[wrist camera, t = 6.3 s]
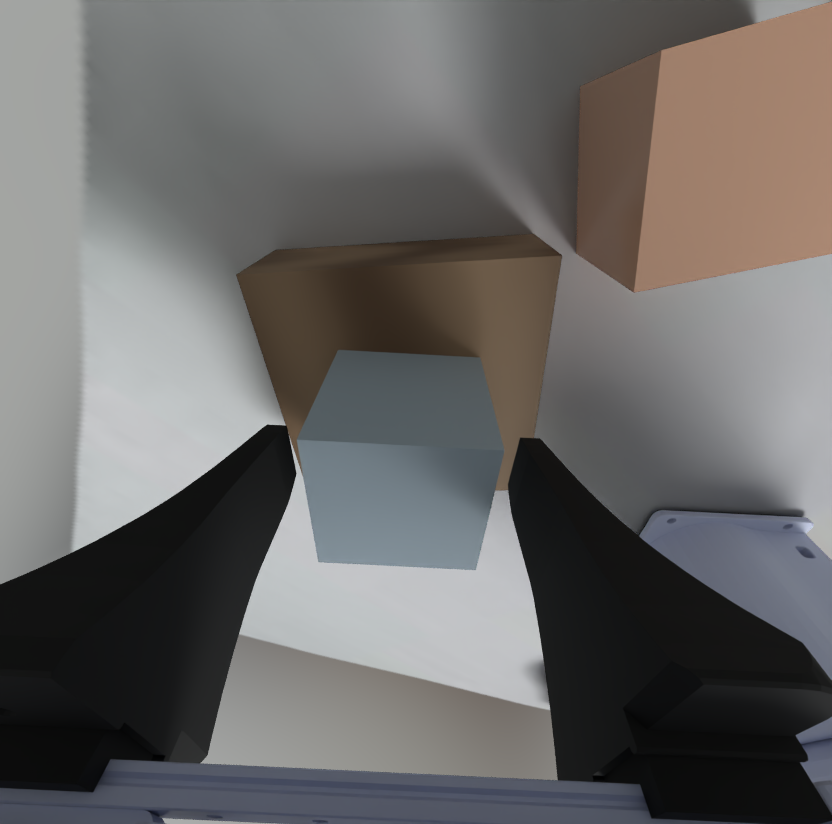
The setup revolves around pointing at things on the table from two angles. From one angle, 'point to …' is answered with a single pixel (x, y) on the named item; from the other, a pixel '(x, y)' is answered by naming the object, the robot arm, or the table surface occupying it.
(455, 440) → the blue-grey cube
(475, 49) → the table surface
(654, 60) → the terracotta cube
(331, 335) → the walnut slab
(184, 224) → the table surface
